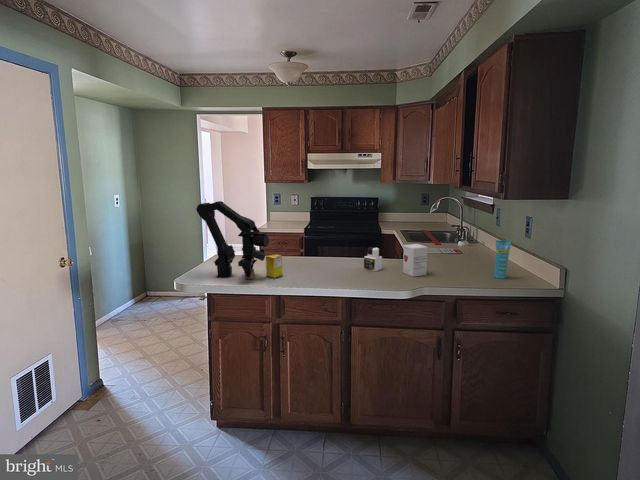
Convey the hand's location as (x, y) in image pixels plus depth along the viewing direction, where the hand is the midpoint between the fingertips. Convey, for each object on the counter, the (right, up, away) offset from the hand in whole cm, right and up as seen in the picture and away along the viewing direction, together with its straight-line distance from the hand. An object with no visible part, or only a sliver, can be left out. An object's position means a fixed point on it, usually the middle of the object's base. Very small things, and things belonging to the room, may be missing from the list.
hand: (249, 275), depth 206 cm
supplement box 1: (+12, -1, +4) cm, 13 cm away
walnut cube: (0, -1, 0) cm, 1 cm away
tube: (+126, -1, 0) cm, 126 cm away
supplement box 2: (+85, 0, +8) cm, 85 cm away
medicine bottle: (+64, +2, +17) cm, 66 cm away
